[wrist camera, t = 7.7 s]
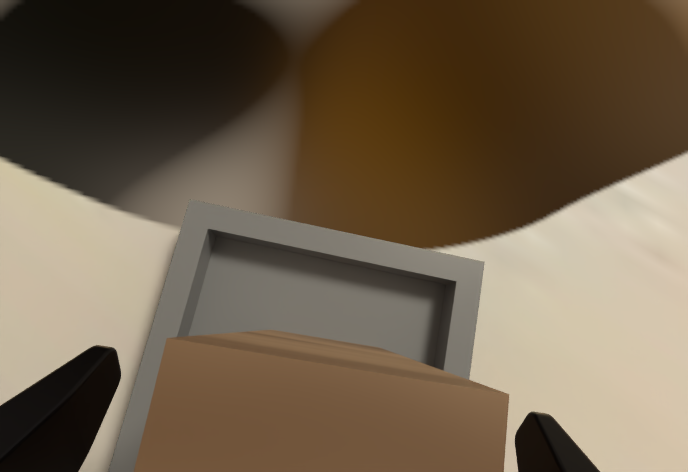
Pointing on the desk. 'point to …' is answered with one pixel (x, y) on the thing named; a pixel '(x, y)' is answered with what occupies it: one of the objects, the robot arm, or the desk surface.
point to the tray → (305, 296)
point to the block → (314, 409)
